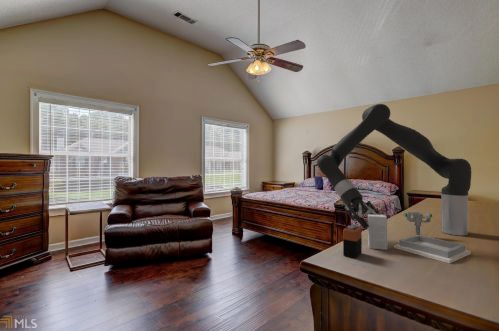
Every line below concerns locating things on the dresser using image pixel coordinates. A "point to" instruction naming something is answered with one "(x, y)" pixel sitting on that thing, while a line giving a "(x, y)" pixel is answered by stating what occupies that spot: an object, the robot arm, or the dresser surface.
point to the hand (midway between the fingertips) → (373, 226)
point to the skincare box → (377, 231)
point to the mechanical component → (417, 219)
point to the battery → (352, 241)
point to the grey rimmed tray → (433, 248)
